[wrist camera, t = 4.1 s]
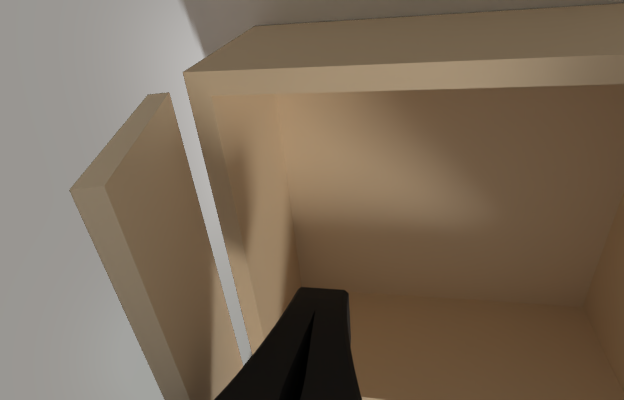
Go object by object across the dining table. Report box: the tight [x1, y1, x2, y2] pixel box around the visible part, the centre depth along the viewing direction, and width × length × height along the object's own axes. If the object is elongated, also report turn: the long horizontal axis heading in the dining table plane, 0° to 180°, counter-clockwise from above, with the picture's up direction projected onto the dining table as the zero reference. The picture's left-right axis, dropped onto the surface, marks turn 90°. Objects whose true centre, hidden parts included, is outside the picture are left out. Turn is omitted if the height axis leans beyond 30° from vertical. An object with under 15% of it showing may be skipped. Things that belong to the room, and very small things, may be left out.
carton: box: [183, 3, 624, 400], centre depth 15 cm, size 13×14×6 cm
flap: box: [69, 92, 243, 400], centre depth 11 cm, size 12×4×1 cm
